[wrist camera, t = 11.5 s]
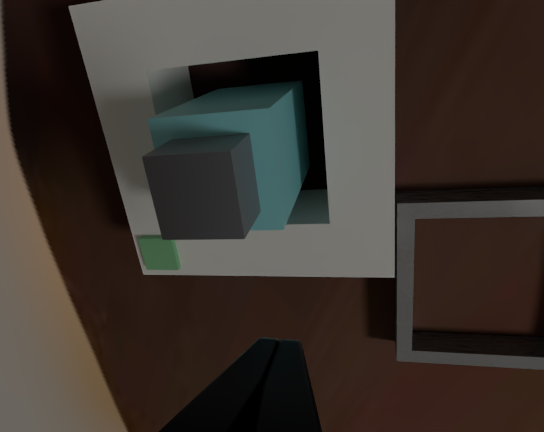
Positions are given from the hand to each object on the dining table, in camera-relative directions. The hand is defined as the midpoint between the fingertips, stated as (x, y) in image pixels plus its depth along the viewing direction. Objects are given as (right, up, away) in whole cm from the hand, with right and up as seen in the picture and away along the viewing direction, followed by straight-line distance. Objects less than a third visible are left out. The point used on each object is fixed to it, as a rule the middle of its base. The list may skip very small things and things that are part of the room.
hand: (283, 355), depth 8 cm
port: (-1, +7, +11) cm, 13 cm away
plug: (-1, +7, +11) cm, 13 cm away
